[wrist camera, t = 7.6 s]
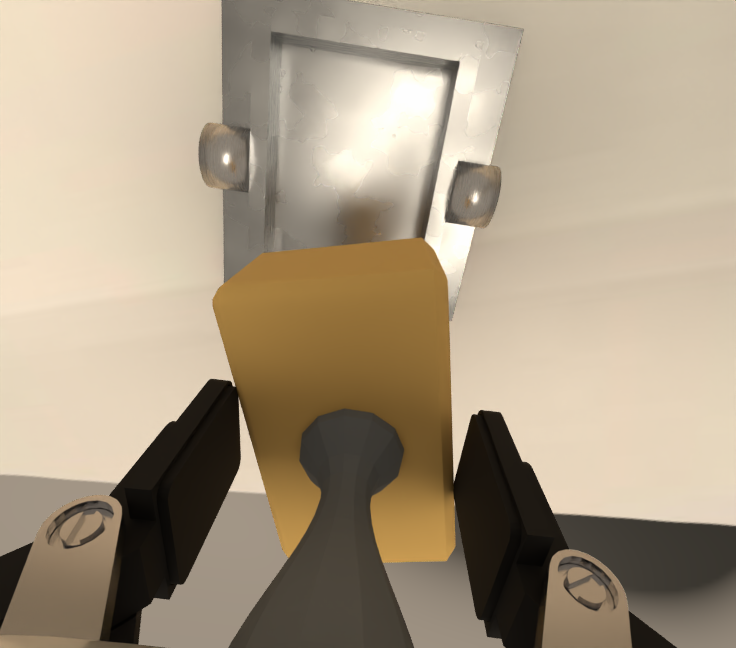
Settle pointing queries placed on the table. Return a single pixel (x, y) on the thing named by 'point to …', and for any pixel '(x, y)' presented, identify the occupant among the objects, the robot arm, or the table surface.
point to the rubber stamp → (344, 431)
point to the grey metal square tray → (356, 128)
